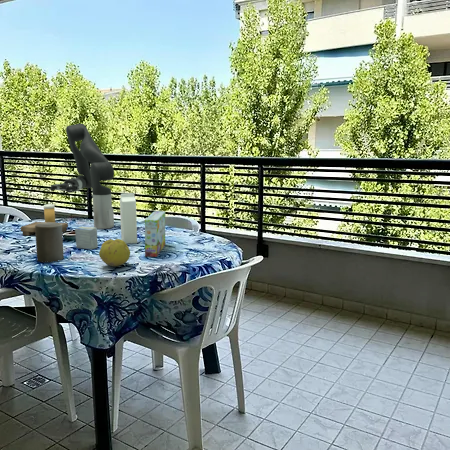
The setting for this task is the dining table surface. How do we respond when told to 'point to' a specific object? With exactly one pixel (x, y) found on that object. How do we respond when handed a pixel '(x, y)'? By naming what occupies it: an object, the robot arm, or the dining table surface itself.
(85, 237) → the medicine box
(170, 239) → the dining table surface
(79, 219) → the dining table surface
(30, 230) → the walnut stand
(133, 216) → the milk
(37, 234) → the pillar candle
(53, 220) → the beer glass
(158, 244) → the snack box
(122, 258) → the fruit
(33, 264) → the dining table surface
